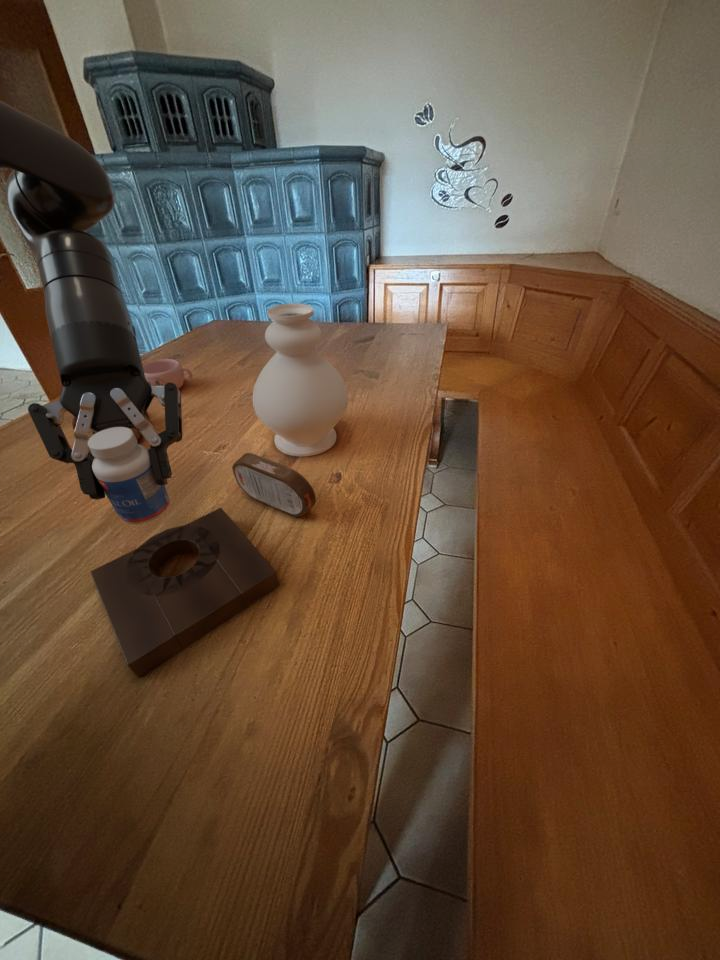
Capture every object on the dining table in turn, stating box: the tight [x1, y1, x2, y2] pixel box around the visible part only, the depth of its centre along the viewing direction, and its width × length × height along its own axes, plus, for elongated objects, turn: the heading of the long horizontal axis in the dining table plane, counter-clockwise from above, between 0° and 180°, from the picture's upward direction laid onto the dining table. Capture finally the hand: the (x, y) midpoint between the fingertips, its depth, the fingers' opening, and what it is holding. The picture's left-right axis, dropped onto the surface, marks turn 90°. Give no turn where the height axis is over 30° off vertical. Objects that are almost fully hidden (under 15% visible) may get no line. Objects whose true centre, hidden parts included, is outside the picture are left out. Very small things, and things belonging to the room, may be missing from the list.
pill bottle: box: [88, 427, 171, 525], centre depth 40 cm, size 6×5×10 cm
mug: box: [142, 358, 193, 390], centre depth 95 cm, size 12×10×6 cm
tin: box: [231, 452, 317, 518], centre depth 60 cm, size 15×3×8 cm, turn 59°
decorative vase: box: [251, 302, 349, 458], centre depth 70 cm, size 18×18×25 cm
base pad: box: [90, 507, 280, 678], centre depth 50 cm, size 18×17×3 cm
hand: (130, 490), depth 40 cm, fingers closed on pill bottle, 5 cm apart
